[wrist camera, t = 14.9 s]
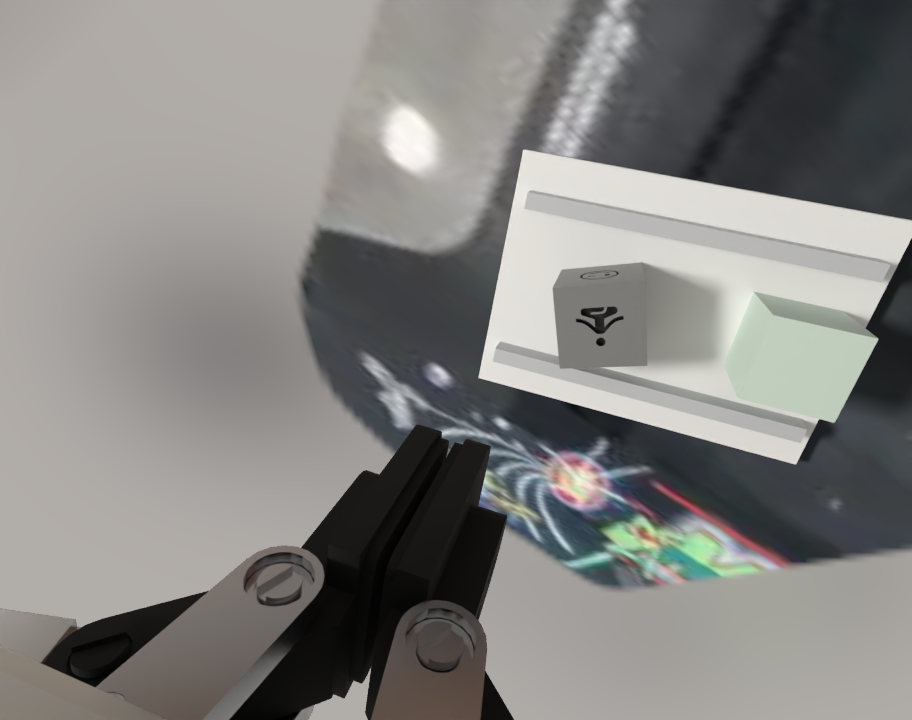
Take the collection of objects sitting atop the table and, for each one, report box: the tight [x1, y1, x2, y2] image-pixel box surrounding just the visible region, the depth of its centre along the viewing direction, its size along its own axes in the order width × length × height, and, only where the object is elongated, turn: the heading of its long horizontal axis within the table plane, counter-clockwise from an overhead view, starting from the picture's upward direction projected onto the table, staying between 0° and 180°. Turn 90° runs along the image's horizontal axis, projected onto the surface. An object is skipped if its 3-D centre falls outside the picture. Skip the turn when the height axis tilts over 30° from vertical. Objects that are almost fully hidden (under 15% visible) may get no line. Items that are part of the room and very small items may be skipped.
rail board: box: [479, 149, 912, 464], centre depth 33 cm, size 22×16×6 cm
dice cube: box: [552, 262, 647, 369], centre depth 33 cm, size 5×5×5 cm
